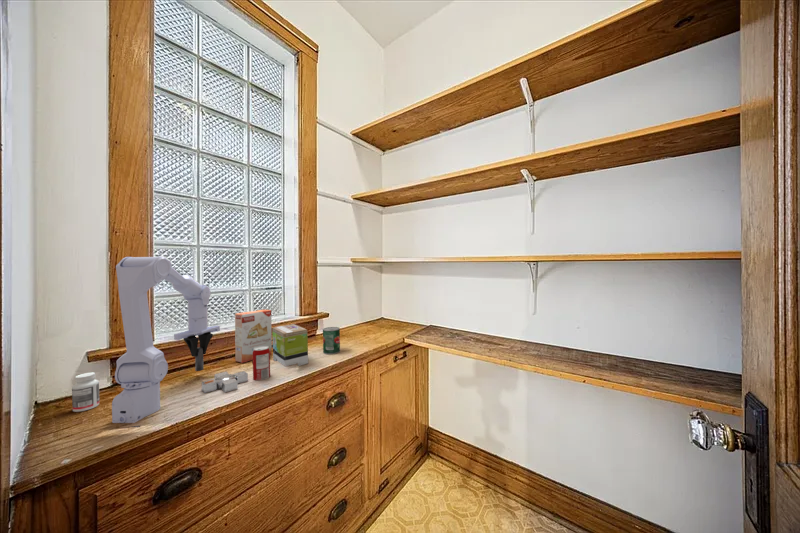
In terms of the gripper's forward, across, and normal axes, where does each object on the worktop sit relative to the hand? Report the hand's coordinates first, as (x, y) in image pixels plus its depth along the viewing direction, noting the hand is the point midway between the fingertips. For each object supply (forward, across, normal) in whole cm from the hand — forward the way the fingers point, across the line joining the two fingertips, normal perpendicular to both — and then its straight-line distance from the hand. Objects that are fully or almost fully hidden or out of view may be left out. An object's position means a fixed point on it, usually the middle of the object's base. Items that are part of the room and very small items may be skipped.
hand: (198, 355), depth 103 cm
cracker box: (+9, +25, +3) cm, 27 cm away
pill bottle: (+9, -26, +10) cm, 29 cm away
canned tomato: (+9, +45, -24) cm, 52 cm away
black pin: (+5, 0, 0) cm, 5 cm away
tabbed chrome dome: (+8, -2, -17) cm, 19 cm away
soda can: (+9, +8, -22) cm, 25 cm away
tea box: (+9, +27, -17) cm, 33 cm away
